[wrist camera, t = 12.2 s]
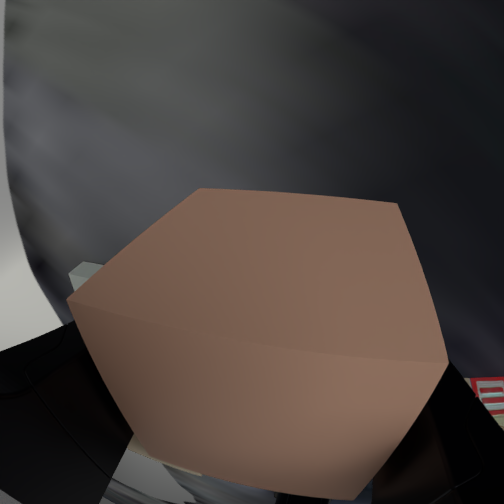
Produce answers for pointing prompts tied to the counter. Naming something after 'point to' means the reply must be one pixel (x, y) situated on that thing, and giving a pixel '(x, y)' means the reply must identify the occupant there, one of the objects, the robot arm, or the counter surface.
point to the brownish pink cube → (267, 338)
